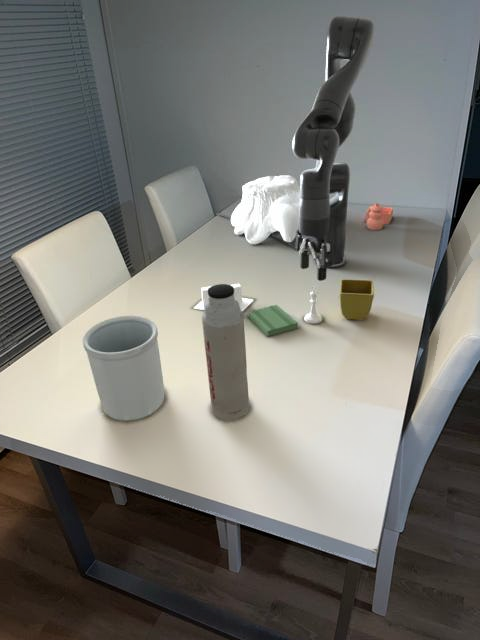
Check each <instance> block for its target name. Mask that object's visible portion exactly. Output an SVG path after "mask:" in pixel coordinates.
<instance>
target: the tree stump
mask: <svg viewBox="0 0 480 640" xmlns="http://www.w3.org/2000/svg"><path fill="white" fill-rule="evenodd" d="M299 201H300V184H299V182H298V180H297V179H296V178H295V177H294V176H292V175H288V174H287V175H284V174H283V175H282V174H281V175H279V176H278V175H267V176H264V177H259V178H257V179H254V180H251V181H248V182H247V183H245V184H244V185H242V198H241V202H240V203H239V204H238V205H237V206H236V207H235V209H234V211H233V212H232V213H231V216H230V217H231V219H230V223H231V226H232V227H234V234H235V235H237V236H242V235H244V236H245V239H246V241H247V242H248V243H249V244H251V245H259V244H260V243H262V242H263V241H265V240H266V239H267V238H268V237H269V236H270V234H274V233H275V232H279V234H280V235H281V237H282V239H283V240H284V241H286V242H288V243H291V242H294V240H295V239H296V230H298V229H299Z"/></svg>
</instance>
